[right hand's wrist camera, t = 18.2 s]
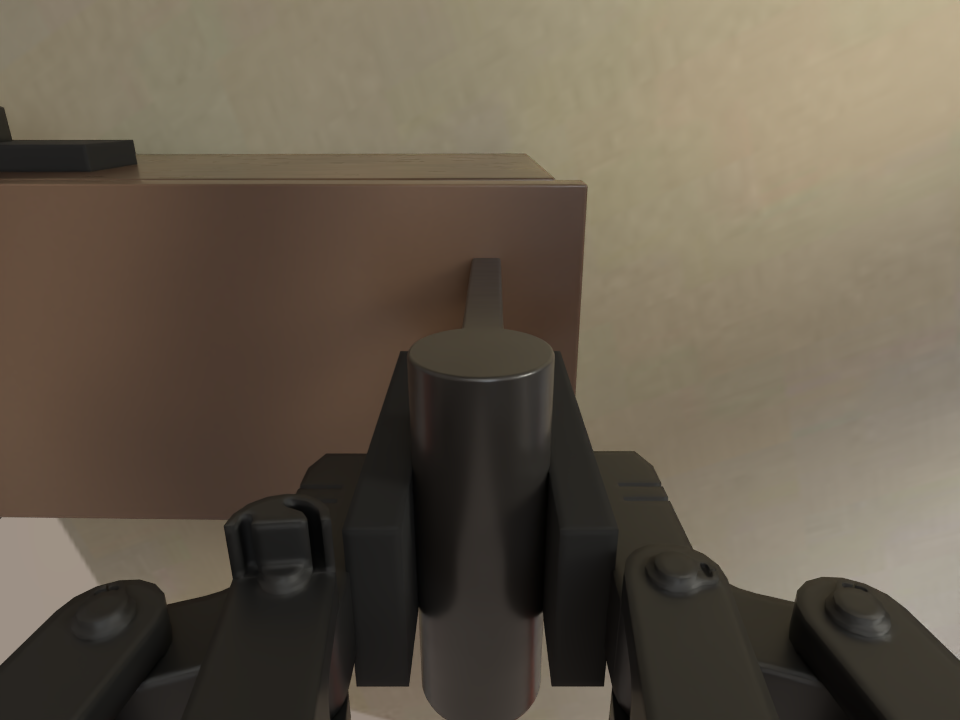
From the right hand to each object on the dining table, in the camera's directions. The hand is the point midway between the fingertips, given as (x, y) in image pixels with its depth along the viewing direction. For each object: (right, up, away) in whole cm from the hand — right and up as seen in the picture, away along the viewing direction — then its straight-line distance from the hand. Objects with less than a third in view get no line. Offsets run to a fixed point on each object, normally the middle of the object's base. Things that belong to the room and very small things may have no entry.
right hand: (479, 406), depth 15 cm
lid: (-6, +1, +3) cm, 7 cm away
